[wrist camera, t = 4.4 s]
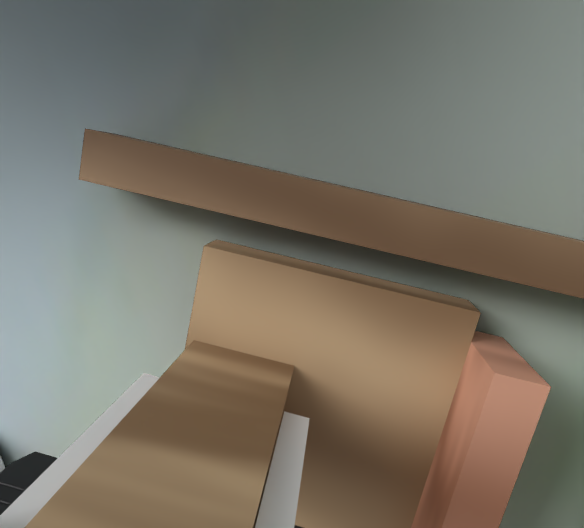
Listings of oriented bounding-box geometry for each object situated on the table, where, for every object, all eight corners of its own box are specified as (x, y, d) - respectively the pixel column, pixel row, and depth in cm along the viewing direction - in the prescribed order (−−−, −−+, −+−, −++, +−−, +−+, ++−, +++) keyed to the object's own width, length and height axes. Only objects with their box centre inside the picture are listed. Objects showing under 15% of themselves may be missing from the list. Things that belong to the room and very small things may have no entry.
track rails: (115, 133, 16) (85, 128, 14) (886, 310, 15) (969, 330, 13) (66, 504, 20) (35, 541, 18) (691, 682, 18) (734, 744, 16)
